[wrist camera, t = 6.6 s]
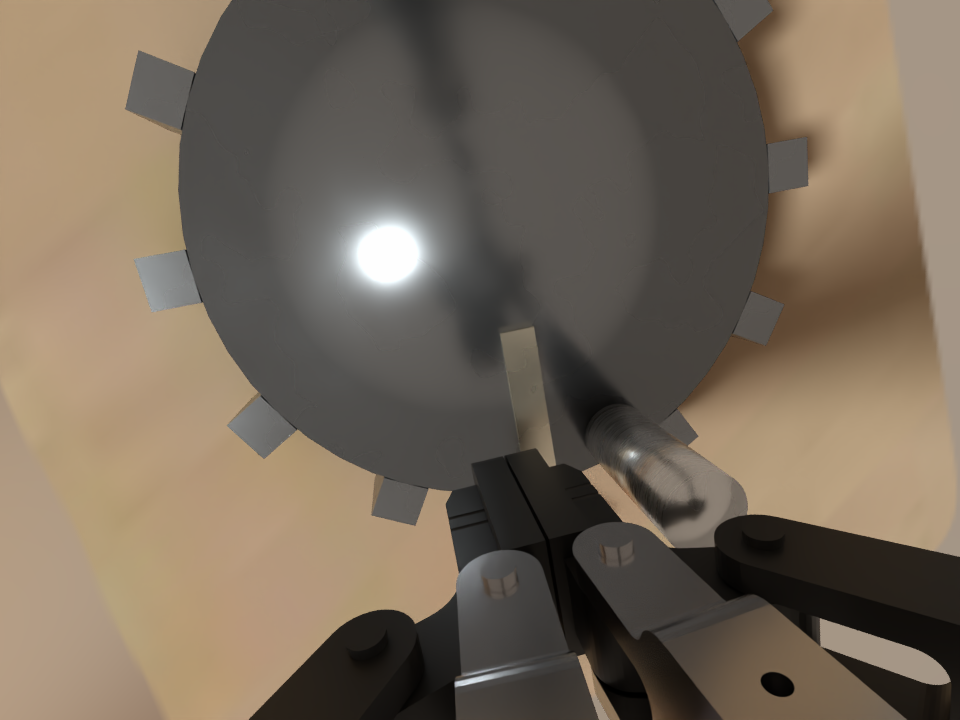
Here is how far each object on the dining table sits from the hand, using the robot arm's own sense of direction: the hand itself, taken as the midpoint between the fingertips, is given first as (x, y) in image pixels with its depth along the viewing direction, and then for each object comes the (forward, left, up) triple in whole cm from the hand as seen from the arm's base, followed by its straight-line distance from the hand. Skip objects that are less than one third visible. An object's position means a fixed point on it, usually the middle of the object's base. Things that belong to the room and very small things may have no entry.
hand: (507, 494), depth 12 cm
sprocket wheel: (-6, +1, -4) cm, 7 cm away
